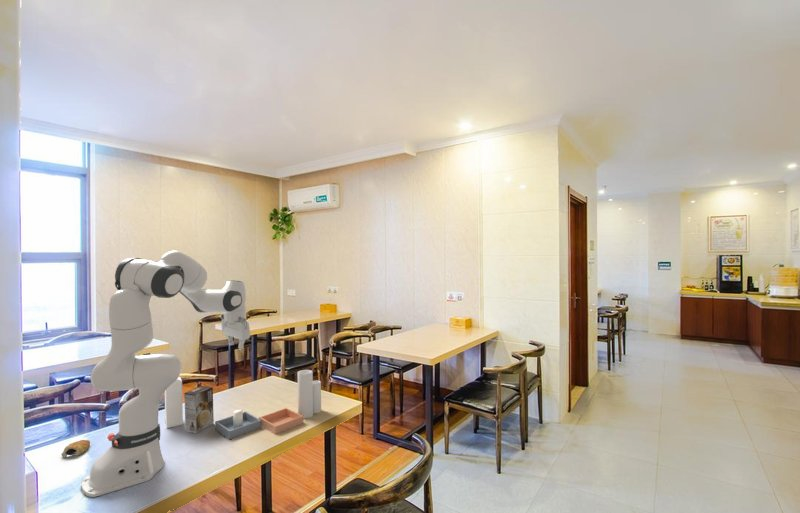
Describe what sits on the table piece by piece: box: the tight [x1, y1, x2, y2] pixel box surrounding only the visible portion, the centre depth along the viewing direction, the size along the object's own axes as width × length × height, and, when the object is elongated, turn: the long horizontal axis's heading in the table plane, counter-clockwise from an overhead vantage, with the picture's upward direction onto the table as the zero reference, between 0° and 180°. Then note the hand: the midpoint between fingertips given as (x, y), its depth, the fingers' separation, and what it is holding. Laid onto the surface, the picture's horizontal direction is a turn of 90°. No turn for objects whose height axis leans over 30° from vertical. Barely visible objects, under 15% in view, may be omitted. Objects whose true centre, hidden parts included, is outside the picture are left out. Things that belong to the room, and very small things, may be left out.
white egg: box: [232, 409, 244, 429], centre depth 160 cm, size 4×4×7 cm
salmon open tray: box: [258, 407, 304, 435], centre depth 164 cm, size 13×13×4 cm
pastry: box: [61, 439, 91, 457], centre depth 144 cm, size 9×7×4 cm
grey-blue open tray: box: [214, 411, 262, 441], centre depth 160 cm, size 13×13×4 cm
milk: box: [164, 376, 184, 429], centre depth 166 cm, size 6×6×22 cm
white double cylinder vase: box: [297, 369, 322, 420], centre depth 174 cm, size 11×7×20 cm, turn 151°
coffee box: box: [183, 385, 215, 434], centre depth 162 cm, size 9×6×16 cm
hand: (236, 346), depth 174 cm, fingers open, 8 cm apart
